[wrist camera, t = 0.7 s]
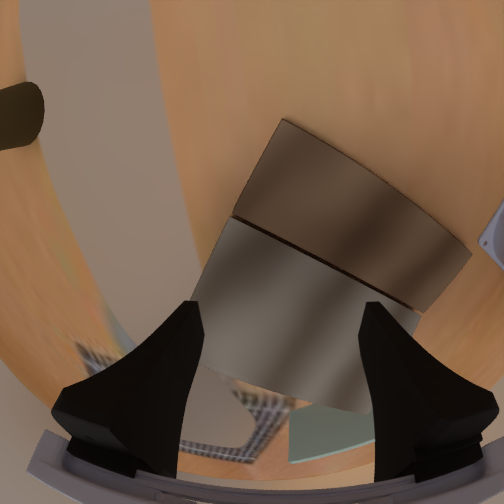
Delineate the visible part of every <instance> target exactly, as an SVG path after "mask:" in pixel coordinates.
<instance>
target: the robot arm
mask: <svg viewBox="0 0 504 504" xmlns="http://www.w3.org/2000/svg"><path fill="white" fill-rule="evenodd" d="M485 241H486V243H485V245H483V243H484V242H485ZM478 244H479V245H480V246H481V247H482V248H483V249H484V250H485V251H486V252H487V253H488V255H489V256H490V257H491V258H492V259H493V260H494V261H495V262H496V263H497V264H498V265H499V267H500V268H501V269H502V270H503V271H504V199H503V201H502V202H501V204H500V206H499V207H498V209H497V211H496V212H495V214H494V215H493V217H492V218H491V220H490V222H489V223H488V225H487V226H486V228H485V229H484V231H483V232H482V233H481V235H480V236H479V238H478ZM204 337H205V333H204V328H203V324H202V319H201V314H200V309H199V304H198V301H184V302H183V303H182V304H181V305H180V306H179V307H178V308H177V309H176V310H175V311H174V312H173V313H172V314H171V315H170V316H169V317H168V318H167V319H166V320H165V321H164V322H163V324H162V325H161V326H159V327H158V328H157V329H156V330H155V331H154V332H153V333H152V334H151V335H150V336H149V337H148V338H147V339H146V340H145V341H144V342H143V343H142V344H140V345H139V346H138V347H137V348H135V349H134V350H133V351H131V352H130V353H129V354H127V355H126V356H125V357H123V358H122V359H120V360H119V361H117V362H116V363H114V364H113V365H111V366H109V367H108V368H106V369H105V370H103V371H101V372H99V373H97V374H95V375H93V376H91V377H89V378H87V379H85V380H83V381H80V382H78V383H75V384H73V385H70V386H68V387H65V388H63V390H62V391H61V393H60V395H59V397H58V399H57V401H56V402H55V404H54V406H53V408H52V410H51V414H52V416H53V418H54V419H55V420H56V421H57V422H58V423H59V424H60V425H61V426H62V427H63V428H64V429H65V430H66V431H67V432H68V433H69V434H70V435H71V436H72V438H71V440H70V441H68V440H67V439H65V438H63V437H61V436H59V435H57V434H55V433H53V432H51V431H49V430H44V432H43V434H42V436H41V438H40V441H39V443H38V445H37V447H36V449H35V451H34V454H33V456H32V458H31V460H30V463H29V465H28V467H27V470H26V471H27V473H28V474H30V475H31V476H33V477H34V478H36V479H37V480H39V481H41V482H42V483H44V484H46V485H47V486H49V487H51V488H52V489H54V490H56V491H58V492H59V493H61V494H63V495H65V496H67V497H69V498H71V499H72V500H74V501H76V502H79V503H81V504H197V503H196V502H193V501H189V500H194V501H200V502H206V503H213V504H355V503H358V504H479V503H482V502H483V501H485V500H487V499H489V498H491V497H493V496H495V495H497V494H498V493H500V492H502V491H503V490H504V437H501V438H499V439H497V440H495V441H493V442H491V443H488V444H487V445H485V446H483V447H482V448H481V446H480V443H479V442H481V441H482V439H483V438H482V435H481V432H482V431H483V430H484V429H486V427H488V426H489V425H490V424H491V423H492V422H493V421H494V419H495V418H496V417H497V415H498V413H499V407H498V405H497V402H496V400H495V398H494V395H493V393H492V392H490V391H488V390H486V389H484V388H482V387H479V386H477V385H475V384H473V383H471V382H470V381H468V380H466V379H464V378H463V377H461V376H459V375H458V374H456V373H455V372H453V371H452V370H450V369H449V368H447V367H446V366H445V365H443V364H442V363H441V362H439V361H438V360H437V359H436V358H434V357H433V356H432V355H431V354H429V353H428V352H427V351H426V350H425V349H424V348H423V347H422V346H421V345H420V344H419V343H417V342H416V341H415V340H414V339H413V338H412V337H411V336H410V335H409V334H408V332H407V331H406V330H405V329H404V328H403V327H402V326H401V325H400V324H399V323H398V322H397V321H396V319H395V318H394V317H393V316H392V315H391V314H390V313H389V312H388V310H387V309H386V308H385V307H384V306H383V305H382V304H381V303H380V302H379V301H374V302H366V305H365V309H364V313H363V317H362V321H361V325H360V329H359V333H358V341H359V349H360V356H361V360H362V364H363V368H364V372H365V376H366V380H367V384H368V388H369V392H370V396H371V401H372V408H373V418H374V432H375V473H374V483H369V484H363V485H356V486H348V487H340V488H330V489H315V490H256V489H241V488H230V487H221V486H213V485H206V484H200V483H193V482H188V481H183V480H178V479H176V474H177V462H178V452H179V443H180V435H181V429H182V423H183V417H184V412H185V407H186V402H187V398H188V394H189V391H190V388H191V385H192V382H193V379H194V376H195V373H196V370H197V367H198V363H199V360H200V357H201V353H202V348H203V343H204ZM182 498H184V499H182ZM186 499H189V500H186Z"/></svg>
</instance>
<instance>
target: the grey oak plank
mask: <svg viewBox="0 0 504 504" xmlns="http://www.w3.org/2000/svg"><path fill="white" fill-rule="evenodd" d="M190 301H198V304H199V309H200V314H201V319H202V324H203V328H204V333H205V337H204V343H203V348H202V353H201V357H200V360H199V363H198V365H201V366H204V367H206V368H208V369H211V370H213V371H216V372H219V373H221V374H224V375H227V376H229V377H232V378H235V379H237V380H240V381H243V382H246V383H249V384H252V385H255V386H258V387H261V388H264V389H267V390H270V391H273V392H277V393H280V394H283V395H286V396H290V397H293V398H297V399H300V400H304V401H308V402H312V403H315V404H319V405H323V406H327V407H331V408H336V409H340V410H344V411H349V412H354V413H359V414H364V415H368V414H369V412H370V411H371V409H372V401H371V396H370V392H369V388H368V384H367V380H366V376H365V372H364V368H363V364H362V360H361V356H360V349H359V341H358V333H359V329H360V325H361V321H362V317H363V313H364V309H365V305H366V302H374V301H379V302H380V303H381V304H382V305H383V306H384V307H385V308H386V309H387V310H388V312H389V313H390V314H391V315H392V316H393V317H394V318H395V319H396V321H397V322H398V323H399V324H400V325H401V326H402V327H403V328H404V329H405V330H406V331H407V332H408V334H409V335H410V336H411V337H412V335H413V333H414V331H415V329H416V326H417V324H418V322H419V320H420V317H421V315H419V314H417V313H415V312H413V311H412V310H410V309H408V308H406V307H404V306H402V305H401V304H399V303H397V302H395V301H393V300H391V299H389V298H388V297H386V296H384V295H382V294H380V293H378V292H376V291H374V290H373V289H371V288H369V287H367V286H365V285H363V284H361V283H359V282H357V281H355V280H354V279H352V278H350V277H348V276H346V275H344V274H342V273H340V272H338V271H336V270H334V269H332V268H331V267H329V266H327V265H325V264H323V263H321V262H319V261H317V260H315V259H313V258H311V257H309V256H307V255H305V254H303V253H301V252H299V251H297V250H295V249H294V248H292V247H290V246H288V245H286V244H284V243H282V242H280V241H278V240H276V239H274V238H272V237H270V236H268V235H266V234H264V233H262V232H260V231H258V230H256V229H254V228H252V227H250V226H248V225H246V224H244V223H242V222H240V221H238V220H236V219H233V218H231V217H229V218H228V220H227V222H226V224H225V227H224V229H223V231H222V233H221V235H220V237H219V239H218V241H217V243H216V245H215V247H214V249H213V251H212V253H211V256H210V258H209V260H208V262H207V264H206V266H205V268H204V270H203V273H202V275H201V277H200V279H199V281H198V283H197V286H196V288H195V290H194V292H193V294H192V296H191V299H190Z"/></svg>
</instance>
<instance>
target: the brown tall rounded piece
mask: <svg viewBox="0 0 504 504" xmlns="http://www.w3.org/2000/svg"><path fill="white" fill-rule="evenodd" d="M44 111H45V110H44V99H43V96H42V92H41V90H40V89H39V87H38V86H37V85H36V84H34V83H32V82H23V83H20V84H17V85H13V86H10V87H7V88H4V89H1V90H0V151H1V150H6V149H11V148H16V147H22V146H26V145H29V144H31V143H32V142H33V141H34V140H35V139H36V137H37V136H38V134H39V132H40V130H41V127H42V124H43V119H44Z"/></svg>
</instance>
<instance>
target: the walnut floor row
mask: <svg viewBox="0 0 504 504" xmlns="http://www.w3.org/2000/svg"><path fill="white" fill-rule="evenodd" d="M232 213H233V214H235V215H237V216H239V217H241V218H243V219H245V220H247V221H249V222H251V223H253V224H255V225H257V226H259V227H261V228H263V229H265V230H267V231H269V232H271V233H273V234H275V235H277V236H279V237H281V238H283V239H285V240H287V241H289V242H291V243H293V244H295V245H297V246H299V247H301V248H303V249H304V250H306V251H308V252H310V253H312V254H314V255H316V256H318V257H320V258H322V259H324V260H326V261H328V262H329V263H331V264H333V265H335V266H337V267H339V268H341V269H343V270H345V271H347V272H348V273H350V274H352V275H354V276H356V277H358V278H360V279H362V280H363V281H365V282H367V283H369V284H371V285H373V286H375V287H376V288H378V289H380V290H382V291H384V292H386V293H388V294H389V295H391V296H393V297H395V298H397V299H399V300H400V301H402V302H404V303H406V304H408V305H409V306H411V307H413V308H415V309H417V310H418V311H420V312H422V313H424V312H425V311H426V310H427V309H428V308H429V307H430V306H431V305H432V304H433V302H434V301H435V300H436V299H437V298H438V297H439V296H440V294H441V293H442V292H443V291H444V290H445V289H446V287H447V286H448V285H449V284H450V283H451V281H452V280H453V279H454V278H455V277H456V275H457V274H458V273H459V272H460V270H461V269H462V268H463V266H464V265H465V264H466V263H467V261H468V260H469V259H470V257H471V256H472V255H473V254H472V253H471V252H470V251H469V250H468V249H467V248H466V247H465V246H464V245H463V244H462V243H461V242H460V241H459V240H458V239H457V238H455V237H454V236H453V235H452V234H451V233H450V232H449V231H448V230H446V229H445V228H444V227H443V226H442V225H441V224H439V223H438V222H437V221H436V220H435V219H433V218H432V217H431V216H430V215H428V214H427V213H426V212H425V211H424V210H422V209H421V208H420V207H418V206H417V205H416V204H415V203H413V202H412V201H411V200H409V199H408V198H407V197H406V196H404V195H403V194H402V193H400V192H399V191H398V190H396V189H395V188H393V187H392V186H391V185H389V184H388V183H387V182H385V181H384V180H382V179H381V178H379V177H378V176H377V175H375V174H374V173H372V172H371V171H369V170H368V169H366V168H365V167H363V166H362V165H360V164H359V163H357V162H356V161H354V160H353V159H351V158H350V157H348V156H346V155H345V154H343V153H342V152H340V151H338V150H337V149H335V148H334V147H332V146H330V145H329V144H327V143H325V142H324V141H322V140H320V139H318V138H317V137H315V136H313V135H312V134H310V133H308V132H306V131H304V130H303V129H301V128H299V127H297V126H295V125H294V124H292V123H290V122H288V121H286V120H284V119H281V121H280V123H279V125H278V127H277V128H276V130H275V132H274V134H273V136H272V137H271V139H270V141H269V143H268V145H267V146H266V148H265V150H264V152H263V154H262V156H261V157H260V159H259V161H258V163H257V165H256V167H255V169H254V170H253V172H252V174H251V176H250V178H249V180H248V182H247V184H246V186H245V187H244V189H243V191H242V193H241V195H240V197H239V199H238V201H237V203H236V205H235V207H234V209H233V212H232Z"/></svg>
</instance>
